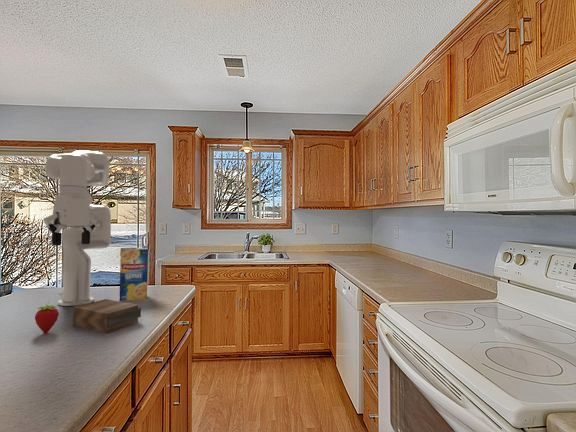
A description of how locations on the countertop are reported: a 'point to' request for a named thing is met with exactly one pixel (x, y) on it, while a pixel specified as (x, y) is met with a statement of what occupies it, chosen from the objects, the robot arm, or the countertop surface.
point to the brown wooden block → (105, 315)
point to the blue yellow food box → (133, 273)
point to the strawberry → (46, 317)
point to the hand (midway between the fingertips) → (71, 244)
